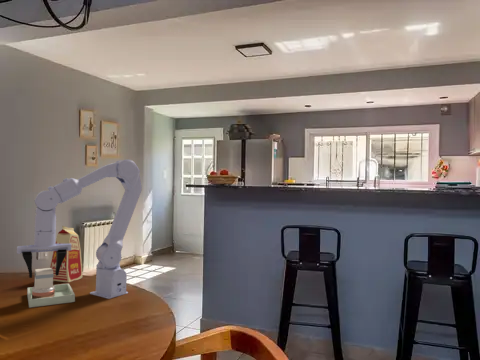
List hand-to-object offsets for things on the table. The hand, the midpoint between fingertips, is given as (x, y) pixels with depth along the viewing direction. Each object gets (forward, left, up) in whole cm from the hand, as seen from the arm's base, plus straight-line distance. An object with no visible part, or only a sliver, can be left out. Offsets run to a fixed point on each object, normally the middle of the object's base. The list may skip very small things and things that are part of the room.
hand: (44, 275), depth 115 cm
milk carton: (+18, -19, -8) cm, 28 cm away
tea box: (0, 0, -3) cm, 3 cm away
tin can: (0, 0, -7) cm, 7 cm away
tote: (0, -2, -8) cm, 8 cm away
